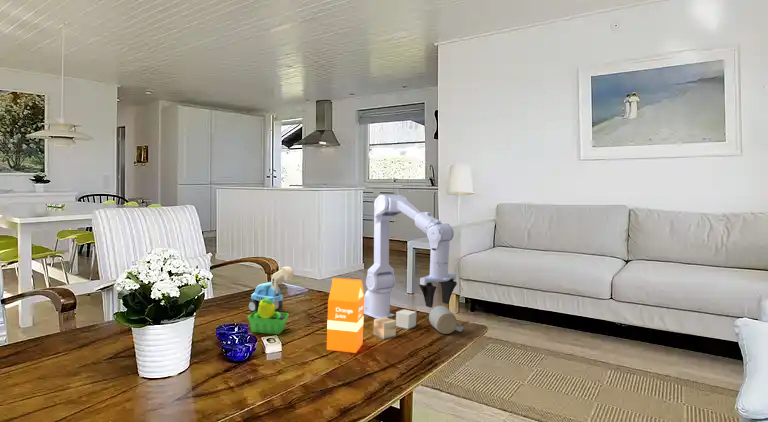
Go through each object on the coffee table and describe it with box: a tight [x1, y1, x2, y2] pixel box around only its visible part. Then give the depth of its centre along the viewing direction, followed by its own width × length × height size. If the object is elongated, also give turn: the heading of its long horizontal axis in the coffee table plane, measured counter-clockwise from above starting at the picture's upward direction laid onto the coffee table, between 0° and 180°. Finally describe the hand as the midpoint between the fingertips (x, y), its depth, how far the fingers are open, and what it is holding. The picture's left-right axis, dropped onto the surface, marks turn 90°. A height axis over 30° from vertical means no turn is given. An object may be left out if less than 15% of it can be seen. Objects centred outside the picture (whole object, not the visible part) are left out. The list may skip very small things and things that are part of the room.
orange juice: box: [326, 277, 365, 354], centre depth 136 cm, size 8×9×20 cm
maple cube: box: [372, 317, 397, 340], centre depth 148 cm, size 5×5×5 cm
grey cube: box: [395, 308, 417, 331], centre depth 158 cm, size 5×5×5 cm
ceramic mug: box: [428, 305, 464, 335], centre depth 154 cm, size 11×8×8 cm
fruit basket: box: [247, 298, 290, 335], centre depth 148 cm, size 11×9×11 cm
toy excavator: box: [247, 266, 295, 312], centre depth 169 cm, size 9×17×17 cm, turn 60°
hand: (437, 304), depth 148 cm, fingers open, 7 cm apart
